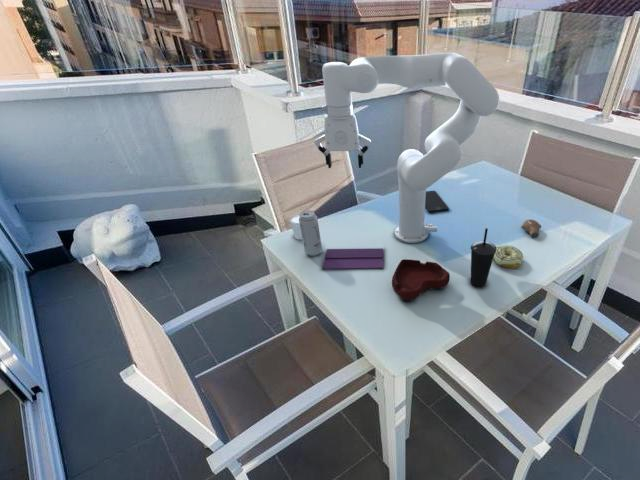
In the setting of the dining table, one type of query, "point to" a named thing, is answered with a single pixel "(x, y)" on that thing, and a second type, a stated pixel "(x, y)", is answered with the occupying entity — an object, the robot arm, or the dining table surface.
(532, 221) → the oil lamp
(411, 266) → the ashtray
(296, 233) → the shot glass
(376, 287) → the dining table surface
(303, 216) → the energy drink can
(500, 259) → the decorated donut
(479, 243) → the drinking cup
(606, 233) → the dining table surface
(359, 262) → the napkin
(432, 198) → the cell phone
